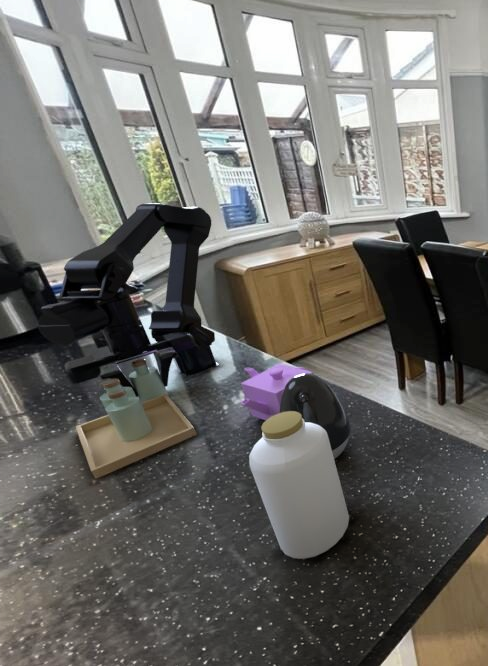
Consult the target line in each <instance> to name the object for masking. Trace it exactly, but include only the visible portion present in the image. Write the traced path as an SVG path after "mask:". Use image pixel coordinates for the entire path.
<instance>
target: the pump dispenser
mask: <svg viewBox="0 0 488 666" xmlns="http://www.w3.org/2000/svg"><path fill="white" fill-rule="evenodd" d="M287 411H295V412H299V413H300V414H301V415H302V418H303V419H304V421H305V422H310V423H314V424H317V425H319V426H321V427H322V428H323V429H324V430H325V431H326V432H327V435H328V438H329V442H330V446H331V450H332V453H333V457H334V460H336V459H337V458H338V457H340V455H341V454H342V453H343V452H344V451H345V449H346V446H348V443H349V440H350V439H349V438H350V434H351V430H352V429H351V423H350V420H349V417H348V414H347V413H346V410H345V408H344V407H343V405H342V403H341V400H339V398H338V396H337V395H336V393H335V392H334V390H333V389H332V387H330V385H328V383H327V382H326V381H325V380H323V379H322V378H321V377H320V376H318V375H316V374H315V373H314V374H310V373H303V374H299V375H296V376H294V377H293V378H291V379H290V380H289V381H288V382H287V384H286V386H285V388H284V390H283V393H282V396H281V401H280V410H279V413H282V412H287Z"/></svg>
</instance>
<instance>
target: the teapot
mask: <svg viewBox="0 0 488 666" xmlns="http://www.w3.org/2000/svg"><path fill="white" fill-rule="evenodd" d="M243 370H244V371H246V373H247V374H248V375H249V376H250V378H248V379H247V380H245V381H243V382H241V383H240V386H241V388H242V391H243V394H244V397H245V398H244V399H243V400H242V401H241V402H240V405H242V406H244V407H246V408H249V411H250V414H251V416H252V417H254V418H257V419H260V420H264V421H266V420H267V419H269V418H270V417H272V416H274V415H276V414H279V410H280V401H281V396H282V393H283V390H284V388H285V386H286V384H287V382H288V381H289V380H290V379H291V378H293V377H294V376H296V375H299V374H303V373H310V374H314V375H315V373H314V372H313V371H310V370H307V368H305V367H302V366H297V367H295V366H291V365H286V364H284V363H283V364H282V363H278V364H275V365H274V366H272V367H269V368H268V369H266V370H264V371H262V372H260V373H259V372H258V371H257V370H255V368H253V367H249V366H247V367H244V368H243Z"/></svg>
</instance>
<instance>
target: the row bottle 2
mask: <svg viewBox="0 0 488 666" xmlns="http://www.w3.org/2000/svg"><path fill="white" fill-rule="evenodd" d="M126 393H127V392H126V390H125V389H124V388H119V389H115V390H113V391H111V392H109V393H108V396H109V398H110V399H111V400H112V402H113V403H111V404H110V405H108V406H107V407H106V409H105V408H104V410H105V412H106V414H107V415H108V416H109V418H110V420H111V422H112V423H113V425H114V427H115V429H116V431H117V433H118V435H119V437H120V439H121V440H122V441H124V442H129V441H134V440H137V439H140V438H142V437H144V436H146V435H148V434H149V433H150V432H151V431H152V430H153V427H152V424H151V422H150V420H149V418H148V416H147V414H146V412H145V410H144V408H143V406H142V404H141V401H140V399H139V397H128V396H127V394H126Z"/></svg>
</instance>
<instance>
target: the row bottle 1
mask: <svg viewBox="0 0 488 666" xmlns="http://www.w3.org/2000/svg"><path fill="white" fill-rule="evenodd" d="M101 385H102V387H103V389H105V391H106V392H104V393H103V394H102V395H100V397H99V400H100V402H101V404H102V406H103V408H104V410H105V409H106V407H107V406H108V405H110V404H111V403H113V402H112V400H111V399H110V398H109V396H108V393H109V392H111V391H113V390H115V389H119V388H124V389H125V390H126V392H127V393H126V394H127V396H128V397H136V395H135V393H134V391H133V389H132V388H131V387H123V386H122V385H120V381H119V379H117V378H116V379H110V378H109V379H106V380H105V381H103V382H102V383H101Z"/></svg>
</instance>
